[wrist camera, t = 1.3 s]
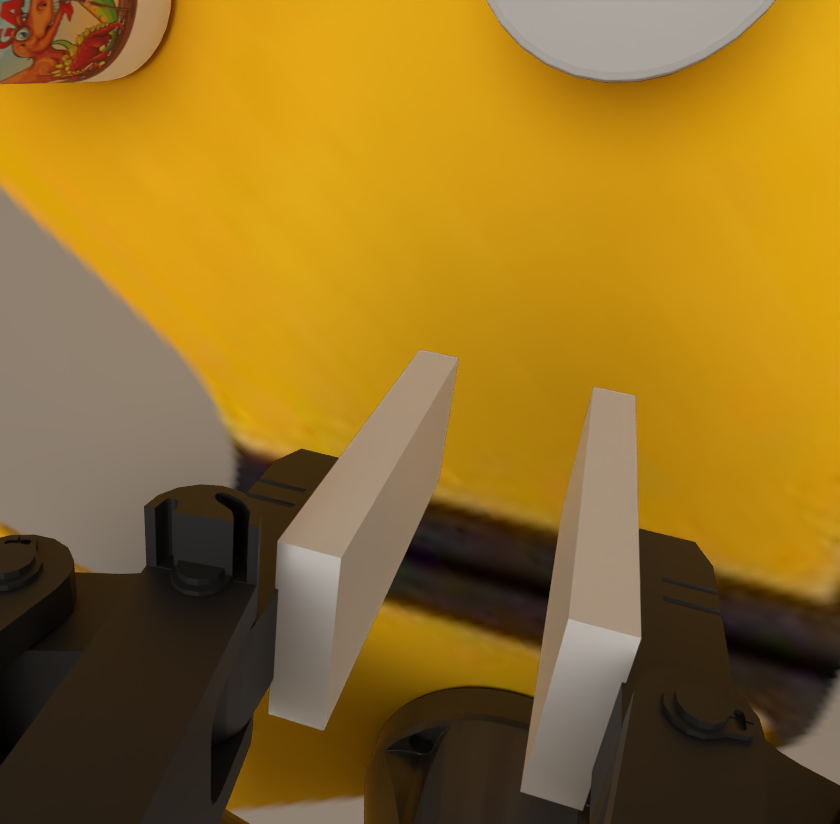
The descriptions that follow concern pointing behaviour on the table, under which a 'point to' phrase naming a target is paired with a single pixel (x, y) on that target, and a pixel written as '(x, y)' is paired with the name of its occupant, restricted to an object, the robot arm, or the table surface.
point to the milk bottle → (78, 39)
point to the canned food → (625, 33)
